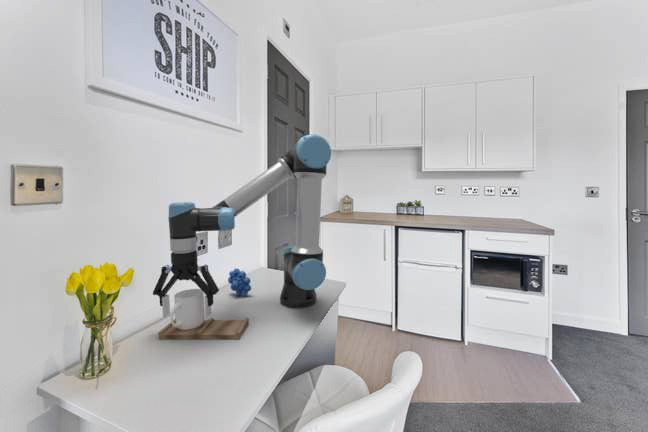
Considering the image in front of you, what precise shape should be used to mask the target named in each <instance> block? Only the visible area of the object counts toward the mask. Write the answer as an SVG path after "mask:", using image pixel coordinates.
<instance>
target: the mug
mask: <svg viewBox="0 0 648 432" xmlns="http://www.w3.org/2000/svg"><path fill="white" fill-rule="evenodd" d="M204 295H205V293H204V292H203V291H202V290H201V289H200V288H189V289H187V288H186V289H184V290H180V291H178V292H176V293H175V294H174V306H173V307H172V309H171V311H170V323H172V325H173V326H174V327H177V328H178V329H180V330H190V329H194V328H197V327H199V326H201V325H202V324H203V323H204V320H206V317H205V298H204V297H205V296H204ZM174 315H175V318H176V324H175V323H174V322H173V320H174V318H173V317H174Z"/></svg>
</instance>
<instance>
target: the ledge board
mask: <svg viewBox="0 0 648 432" xmlns="http://www.w3.org/2000/svg"><path fill="white" fill-rule="evenodd" d="M249 318H250V317H245V319H215V318H214V317H210V318H209V319H205V320H204V323H203V324H202V325H201V326H199V327H197V328H194V329H190V330H180V329H178V328H177V327H174V326H173V325H172V323H171V322H170V323H168V324H167V325H166V326H165V327H164V328H162V329H161V330H160V331H158V340H240V339H241V337H242V336H243V334H244V332H245V331H246V329H247V328H248V327H249V324H250V321H249ZM173 322H174V323H175V324H176V318H175V319H174V318H173Z"/></svg>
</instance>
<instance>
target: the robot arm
mask: <svg viewBox="0 0 648 432" xmlns="http://www.w3.org/2000/svg"><path fill="white" fill-rule="evenodd" d="M331 148H332V147H331V146H330V143H329V141H328V140H327V139H325V138H324V137H323V136H322V135H319V134H315V133H313V134H307V135H304V136H302V137H301V138H300V139H299V140H298V141H297V142H295V143H294V144H293V145H292V146H291V148H290V149H289V150H287V152H286V153H284V154H283V155H281V156H280V157H279V158H278V159H277V163H275V164H274V165H272V166H271V167H269V168H268V169H266V170H265V171H263V172H262V173H260V174H259V175H257V176H256V177H254V179H252V180H250V181H249V182H247V183H246V184H245V185H243V186H241V187H240V188H239V189H237V190H236V191H234V192H233V193H232V194H230V195H229V196H227V197H226V198H225V199H223V200H222V201H220V202H218V203H217V204H216V205H214V206H212V207H205V208H204V207H203V208H200V207H196V204H195V202H191V201H188V202H187V201H184V202H183V201H181V202H180V201H179V202H171V203H170V204H169V205H168V217H167V218H168V227H169V228H168V229H169V246H170V247H169V248H170V249H169V250H170V251H171V253H170V262H171V263H170V264H171V265H170V264H166V265H163V266H162V267H161V268H160V269H161V272H160V275H159V277H158V279H157V283H156V285H155V286H154V289H153V291H152V295H153V296H158V298H159V305H160V307H162V317H163V318H166V317H168V316H169V315H171V304H170V294H169V293H168V292H170V290H171V288H172V287H173V286H174V285H175V284H176V282H177V281H184V280H185V281H192V282H194V283H195V284H196V285H197V287H198V289H201V290H202V291H203V293H204V295H205V296H204V317H205V318H209V317H210V316H211V314H212V306H213V305H214V295H217V294H218V293H219V291H220V289H219V287H218V286H217V285H218V284H216V282H215V279H214V278H213V276H212V275H211V273H210V271H209V266H208V265H207V264H203V265H199V264H198V261H199V260H198V250H197V249H198V244H197V243H198V241H197V232H215V231H217V232H220V231H221V232H225V231H231V230H234V229H235V227H236V226H235V223H236V222H235V221H236V220H235V218H236V217H237V216H238V215H240V214H241V213H242V212H244V211H245V210H247V209H248V208H249V207H251V206H253V205H254V204H256V203H257V202H258V201H259V200H261V199H262V198H264V197H265V196H267V195H268V194H269V193H271V192H273V190H275V189H277V188H278V187H279V186H281V185H282V184H283V183H285V182H287V181H288V180H289V179H291V180H294V179H295V178H296V179H297V190H296V192H297V193H296V216H295V217H296V219H295V221H296V222H295V245H292V246H286V247H284V248H283V254H282V256H283V285H282V289H281V293H280V296H279V302H280V305H282V306H284V307H287V308H290V309H291V308H292V309H301V308H302V309H303V308H306V307H307V308H308V307H310V306H312V305H315V303H317V293H316V289H318V287H319V288H320V286H321V285H322V284H324V281H325V280H326V277H327V269H326V265H325V263H324V262H323V261H324V260H323V259H324V250H323V249H322V248H321V247H320V236H321V235H320V233H321V232H320V231H321V206H322V204H321V203H322V187H323V186H322V181H323V179H324V178H325V177H326V176H327V166H328V164H329V162H330V161H331V158H332V149H331ZM198 272H199V273H201V275H200V274H199V273H198ZM170 273H172V274H173V275H172V276H171V278H170V280H169V281H168V282H167V283H166V281H167V279H168V276H169V274H170ZM201 276H202V277H203V278H202V277H201Z"/></svg>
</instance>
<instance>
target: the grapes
mask: <svg viewBox="0 0 648 432" xmlns="http://www.w3.org/2000/svg"><path fill="white" fill-rule="evenodd" d="M228 276H229V277H228V278H227V281H228V283H229V284H231V285H230V290H231V291H232V292H233V291H234V292H235V294H236V295H237V296H242V295H243V297H245V296H247V295H248V294H249V292H250V291H251V290H252V286H251V285H250V284H251V278H249V277H248V276H247V273H246V271H244V270H240V269H239V268H234V269H233V270H230V271H229V274H228Z"/></svg>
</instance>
